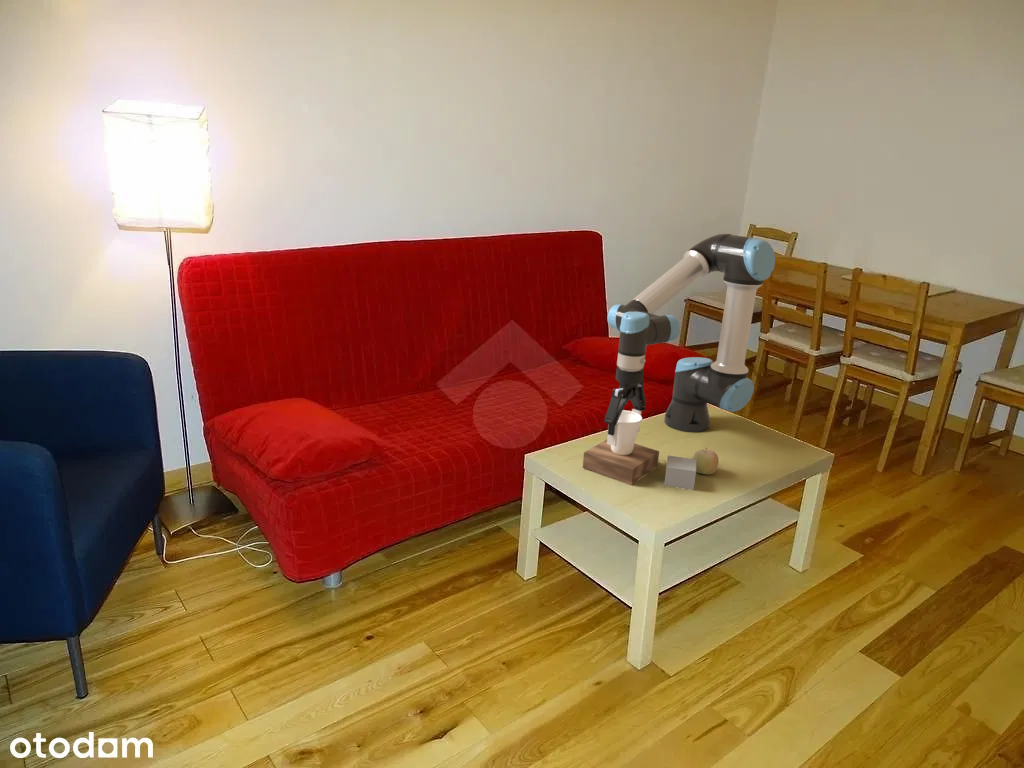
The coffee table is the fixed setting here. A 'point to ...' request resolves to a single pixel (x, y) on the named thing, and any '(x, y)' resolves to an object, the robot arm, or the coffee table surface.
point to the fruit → (706, 461)
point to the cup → (627, 432)
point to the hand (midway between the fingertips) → (623, 437)
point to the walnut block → (621, 462)
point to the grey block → (680, 472)
